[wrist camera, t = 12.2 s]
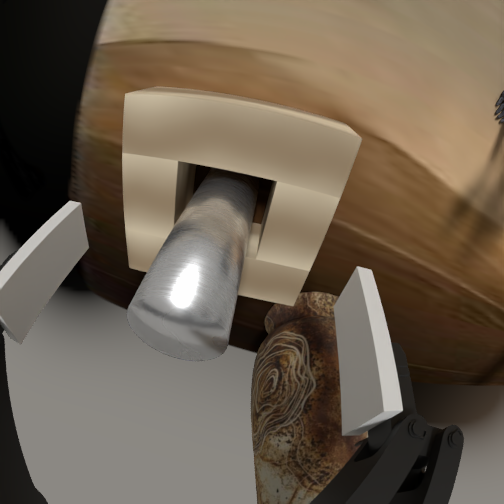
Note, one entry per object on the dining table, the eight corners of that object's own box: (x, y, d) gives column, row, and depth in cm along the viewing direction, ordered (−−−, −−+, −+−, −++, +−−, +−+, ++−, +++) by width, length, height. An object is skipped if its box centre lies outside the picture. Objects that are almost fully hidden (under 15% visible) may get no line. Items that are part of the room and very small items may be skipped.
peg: (210, 154, 17) (119, 284, 8) (264, 166, 17) (236, 314, 8) (203, 201, 19) (133, 345, 10) (253, 212, 19) (221, 368, 10)
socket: (156, 86, 14) (125, 93, 11) (345, 123, 15) (362, 138, 12) (150, 236, 22) (129, 267, 18) (293, 268, 22) (293, 306, 19)
